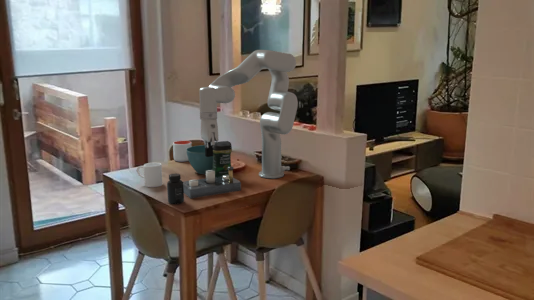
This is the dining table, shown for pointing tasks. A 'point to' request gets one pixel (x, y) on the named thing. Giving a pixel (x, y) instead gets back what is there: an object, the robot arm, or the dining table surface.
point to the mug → (152, 174)
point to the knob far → (193, 183)
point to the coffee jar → (221, 158)
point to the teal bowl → (199, 159)
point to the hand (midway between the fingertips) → (209, 156)
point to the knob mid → (210, 176)
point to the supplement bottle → (175, 189)
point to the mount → (211, 187)
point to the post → (230, 174)
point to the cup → (181, 150)
